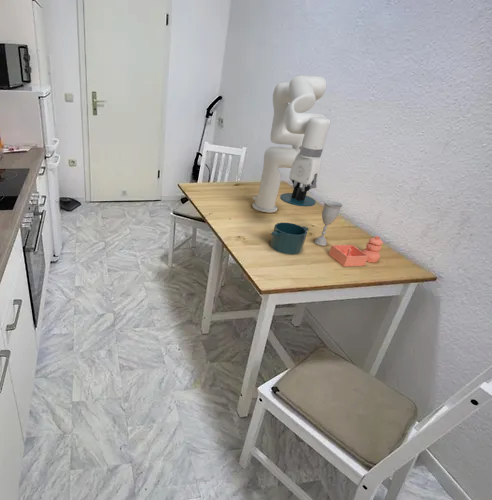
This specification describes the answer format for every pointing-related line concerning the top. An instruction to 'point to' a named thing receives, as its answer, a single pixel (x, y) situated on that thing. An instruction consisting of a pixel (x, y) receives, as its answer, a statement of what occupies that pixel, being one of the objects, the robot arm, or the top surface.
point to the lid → (294, 201)
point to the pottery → (357, 253)
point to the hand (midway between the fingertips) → (297, 198)
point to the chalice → (328, 218)
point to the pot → (288, 238)
